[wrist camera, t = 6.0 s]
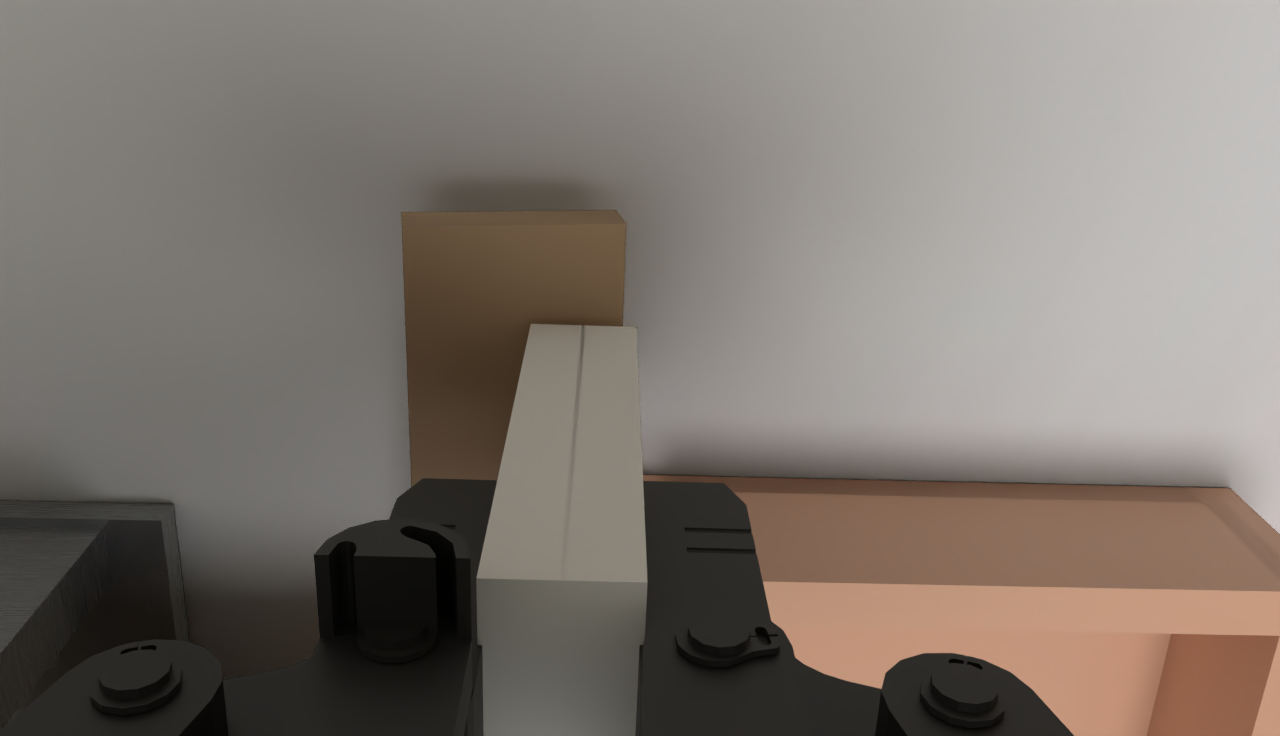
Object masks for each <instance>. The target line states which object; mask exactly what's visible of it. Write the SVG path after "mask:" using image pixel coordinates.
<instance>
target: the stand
mask: <svg viewBox="0 0 1280 736" xmlns="http://www.w3.org/2000/svg"><path fill="white" fill-rule="evenodd" d="M153 639H160V640H181V641H187V642H190V639H189V631H188V623H187V614H186V606H185V598H184V589H183V581H182V573H181V565H180V556H179V548H178V540H177V532H176V523H175V515H174V507H173V504H137V503H90V502H44V501H0V730H2V729H3V728H4V727H5V726H6V725H7V724H8V723H9V722H11V721H12V720H13V719H14V718H15V717H16V716H17V715H19V714H20V713H21V712H22V711H23V710H24V709H25V708H27V707H28V706H29V705H30V704H31V703H32V702H33V701H35V700H36V699H37V698H38V697H39V696H40V695H41V694H43V693H44V692H45V691H46V690H47V689H48V688H49V687H50V686H52V685H53V684H54V683H55V682H56V681H57V680H58V679H60V678H61V677H62V676H63V675H64V674H65V673H67V672H68V671H70V670H71V669H73V668H74V667H76V666H77V665H79V664H80V663H82V662H83V661H85V660H86V659H88V658H89V657H91V656H93V655H96V654H99V653H101V652H104V651H107V650H109V649H112V648H115V647H117V646H120V645H123V644H128V643H132V642H141V641H144V640H153Z"/></svg>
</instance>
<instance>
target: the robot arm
mask: <svg viewBox="0 0 1280 736" xmlns="http://www.w3.org/2000/svg"><path fill="white" fill-rule="evenodd" d="M751 530H752V529H751V524H750V520H749V515H748V510H747V506H746V504H745V503H744V502H743V501H742V500H741V499H740V498H739V497H738V496H737V495H736V494H735V493H734V492H733V491H732V490H731V489H730V488H729V487H728V486H727V485H725V484H724V483H704V482H667V481H643V466H642V443H641V420H640V397H639V373H638V350H637V327H621V326H589V325H555V324H531V325H530V330H529V334H528V339H527V344H526V348H525V353H524V358H523V362H522V367H521V372H520V377H519V381H518V386H517V391H516V395H515V400H514V405H513V409H512V414H511V419H510V423H509V428H508V433H507V437H506V442H505V447H504V451H503V456H502V461H501V465H500V470H499V475H498V480H471V479H434V478H423V479H421V480H420V481H419V482H418V483H416V484H415V485H414V486H413V487H411V488H410V489H409V490H407V491H406V492H405V493H404V494H402V495H401V496H400V497H399V498H397V500H396V503H395V505H394V508H393V511H392V513H391V516H390V519H389V520H380V521H373V522H370V523H366V524H362V525H358V526H355V527H351V528H348V529H346V530H344V531H342V532H340V533H339V534H337V535H335V536H333V537H331V538H329V539H328V540H326V541H325V543H324V544H323V545H322V546H321V547H320V548H319V550H318V551H317V552H316V553H315V554H314V561H315V575H316V589H317V602H318V616H319V630H320V638H319V641H318V643H317V646H316V648H315V651H314V653H313V656H312V658H310V659H307V660H305V661H302V662H300V663H298V664H295V665H293V666H290V667H286V668H282V669H278V670H274V671H270V672H265V673H260V674H254V675H248V676H243V677H237V678H232V679H226V680H223V676H222V667H221V662H220V661H219V660H218V659H217V658H216V657H215V656H214V655H213V654H212V653H211V652H210V651H209V650H208V649H207V648H204V647H201V646H198V645H195V644H193V643H190V642H187V641H181V640H160V639H153V640H144V641H141V642H132V643H128V644H123V645H120V646H117V647H115V648H112V649H109V650H107V651H104V652H101V653H99V654H96V655H93V656H91V657H89V658H88V659H86V660H85V661H83V662H82V663H80V664H79V665H77V666H76V667H74V668H73V669H71V670H70V671H68V672H67V673H65V674H64V675H63V676H62V677H61V678H60V679H58V680H57V681H56V682H55V683H54V684H53V685H52V686H50V687H49V688H48V689H47V690H46V691H45V692H44V693H43V694H41V695H40V696H39V697H38V698H37V699H36V700H35V701H33V702H32V703H31V704H30V705H29V706H28V707H27V708H25V709H24V710H23V711H22V712H21V713H20V714H19V715H17V716H16V717H15V718H14V719H13V720H12V721H11V722H9V723H8V724H7V725H6V726H5V727H4V728H3V729H2V730H0V736H1074V735H1073V734H1072V733H1071V732H1070V730H1069V729H1068V728H1067V727H1066V726H1065V725H1064V724H1063V723H1062V722H1061V721H1060V719H1059V718H1058V717H1057V716H1056V715H1055V714H1054V713H1053V712H1052V711H1051V709H1050V708H1049V707H1048V706H1047V705H1046V704H1045V703H1044V702H1043V701H1042V700H1041V698H1040V697H1039V696H1038V695H1037V694H1036V693H1035V692H1034V691H1033V690H1032V689H1031V688H1030V687H1029V686H1027V685H1026V684H1025V683H1024V682H1022V681H1021V680H1020V679H1019V678H1017V677H1016V676H1015V675H1014V674H1012V673H1011V672H1009V671H1007V670H1005V669H1003V668H1000V667H998V666H996V665H994V664H992V663H989V662H987V661H985V660H983V659H978V658H975V657H971V656H964V655H961V654H955V653H923V654H920V655H916V656H913V657H909V658H906V659H902V660H900V661H899V662H898V663H897V664H895V665H894V666H893V667H892V668H891V669H889V670H888V671H887V672H886V673H885V677H884V681H883V685H882V689H880V688H875V687H871V686H867V685H862V684H858V683H854V682H849V681H845V680H842V679H839V678H836V677H832V676H829V675H826V674H823V673H821V672H819V671H817V670H815V669H813V668H811V667H809V666H807V665H805V664H803V663H802V662H801V661H799V660H798V659H796V658H795V655H794V650H793V646H792V645H791V643H790V641H789V639H788V638H787V636H786V634H785V632H784V631H783V630H782V629H781V628H780V627H778V626H777V625H776V624H774V623H773V622H772V621H771V617H770V613H769V608H768V603H767V599H766V594H765V589H764V585H763V580H762V576H761V571H760V566H759V562H758V557H757V554H756V548H755V543H754V538H753V534H751Z"/></svg>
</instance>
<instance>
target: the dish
mask: <svg viewBox="0 0 1280 736" xmlns="http://www.w3.org/2000/svg"><path fill="white" fill-rule="evenodd" d="M643 481H667V482H704V483H724V484H725V485H727V486H728V487H729V488H730V489H731V490H732V491H733V492H734V493H735V494H736V495H737V496H738V497H739V498H740V499H741V500H742V501H743V502H744V503H745V504H746V506H747V510H748V515H749V520H750V524H751V529H752V530H751V534H753V538H754V543H755V548H756V554H757V557H758V562H759V566H760V571H761V576H762V580H763V585H764V589H765V594H766V599H767V603H768V608H769V613H770V617H771V621H772V622H773V623H774V624H776V625H777V626H778V627H780V628H781V629H782V630H783V631H784V632H785V634H786V636H787V638H788V639H789V641H790V643H791V645H792V646H793V650H794V655H795V658H796V659H798V660H799V661H801V662H802V663H803V664H805V665H807V666H809V667H811V668H813V669H815V670H817V671H819V672H821V673H823V674H826V675H829V676H832V677H836V678H839V679H842V680H845V681H849V682H854V683H858V684H862V685H867V686H871V687H875V688H880V689H882V685H883V681H884V677H885V673H886V672H887V671H888V670H889V669H891V668H892V667H893V666H894V665H895V664H897V663H898V662H899V661H900V660H902V659H906V658H909V657H913V656H916V655H920V654H923V653H955V654H961V655H964V656H971V657H975V658H978V659H983V660H985V661H987V662H989V663H992V664H994V665H996V666H998V667H1000V668H1003V669H1005V670H1007V671H1009V672H1011V673H1012V674H1014V675H1015V676H1016V677H1017V678H1019V679H1020V680H1021V681H1022V682H1024V683H1025V684H1026V685H1027V686H1029V687H1030V688H1031V689H1032V690H1033V691H1034V692H1035V693H1036V694H1037V695H1038V696H1039V697H1040V698H1041V700H1042V701H1043V702H1044V703H1045V704H1046V705H1047V706H1048V707H1049V708H1050V709H1051V711H1052V712H1053V713H1054V714H1055V715H1056V716H1057V717H1058V718H1059V719H1060V721H1061V722H1062V723H1063V724H1064V725H1065V726H1066V727H1067V728H1068V729H1069V730H1070V732H1071V733H1072V734H1073V735H1074V736H1280V534H1279V533H1278V532H1277V531H1276V530H1275V529H1274V528H1272V527H1271V526H1270V525H1269V524H1268V523H1267V522H1266V521H1265V520H1264V519H1263V518H1262V517H1261V516H1260V515H1258V514H1257V513H1256V512H1255V511H1254V510H1253V509H1252V508H1251V507H1250V506H1249V505H1248V504H1247V503H1246V502H1244V501H1243V500H1242V499H1241V498H1240V497H1239V496H1238V495H1237V494H1236V493H1235V492H1234V491H1233V490H1232V489H1230V488H1194V487H1150V486H1107V485H1063V484H1020V483H976V482H932V481H889V480H845V479H802V478H758V477H714V476H671V475H643Z"/></svg>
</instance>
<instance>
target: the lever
mask: <svg viewBox="0 0 1280 736" xmlns="http://www.w3.org/2000/svg"><path fill="white" fill-rule="evenodd" d="M401 217H402V244H403V271H404V299H405V326H406V353H407V380H408V407H409V434H410V461H411V487H413V486H414V485H415V484H416V483H418V482H419V481H420V480H421V479H423V478H434V479H471V480H498V475H499V470H500V465H501V461H502V456H503V451H504V447H505V442H506V437H507V433H508V428H509V423H510V419H511V414H512V409H513V405H514V400H515V395H516V391H517V386H518V381H519V377H520V372H521V367H522V362H523V358H524V353H525V348H526V344H527V339H528V334H529V330H530V325H531V324H555V325H589V326H621V327H623V303H624V274H625V246H626V223H625V222H624V220H623V219H622V218H621V216H620V215H619V214H618V212H617V211H616V210H559V211H463V212H401Z"/></svg>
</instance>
